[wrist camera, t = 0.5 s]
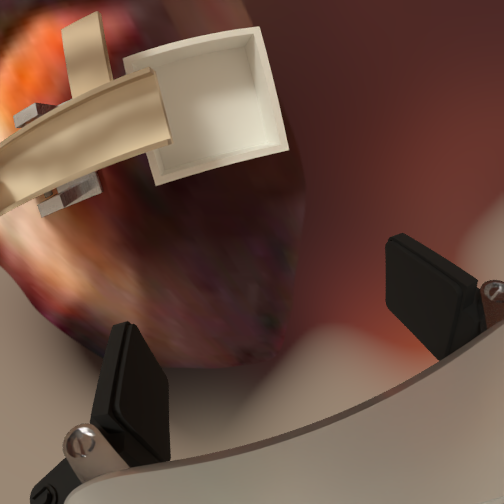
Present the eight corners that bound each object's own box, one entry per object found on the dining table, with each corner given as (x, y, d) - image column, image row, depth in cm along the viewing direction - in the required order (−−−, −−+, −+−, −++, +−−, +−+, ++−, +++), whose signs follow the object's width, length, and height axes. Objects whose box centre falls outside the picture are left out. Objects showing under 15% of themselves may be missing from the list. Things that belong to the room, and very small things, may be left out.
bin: (132, 69, 29) (122, 58, 23) (248, 41, 30) (259, 26, 25) (161, 177, 35) (155, 186, 29) (274, 147, 36) (289, 150, 31)
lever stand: (39, 116, 28) (1, 115, 19) (77, 97, 28) (45, 89, 20) (65, 206, 33) (34, 229, 25) (103, 191, 34) (78, 210, 25)
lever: (-9, 101, 23) (-46, 104, 16) (151, 14, 22) (132, -12, 16) (18, 209, 30) (-16, 230, 23) (183, 144, 29) (170, 150, 22)
